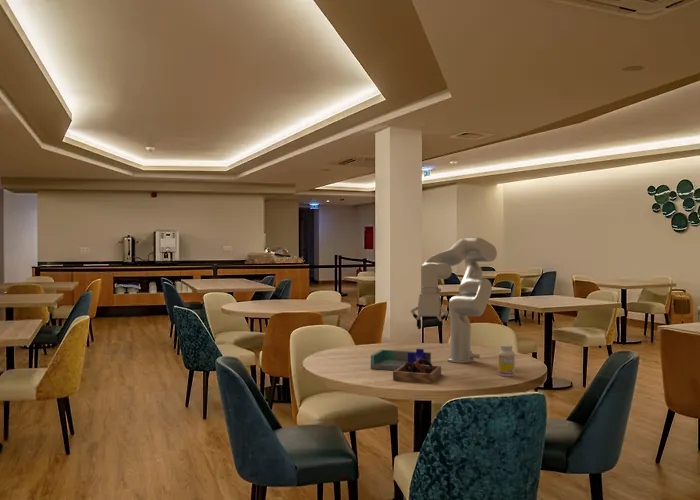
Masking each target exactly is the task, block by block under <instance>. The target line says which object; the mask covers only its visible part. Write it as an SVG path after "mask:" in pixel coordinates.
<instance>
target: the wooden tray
mask: <svg viewBox="0 0 700 500" xmlns="http://www.w3.org/2000/svg"><path fill="white" fill-rule="evenodd" d="M404 365H405V364H403V365H402V366H400V367H399V368H397V369H396V370H392V381H398V382H400V381H401V382H413V383H423V384H424V383H426V384H433V383H434V382H436V380H438V378H439V377H440V376H441V375H442V365H432V366H433V368H432V372H431V373H430V374H427V373H422V371H420V373H413V372H407V371H406V370H405V368H404ZM421 366H423V367H424V368H423V370H426V368H430V366H429V365H421ZM408 368H409V369H410V368H411V367H410V366H408Z"/></svg>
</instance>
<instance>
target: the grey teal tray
mask: <svg viewBox="0 0 700 500" xmlns="http://www.w3.org/2000/svg"><path fill="white" fill-rule="evenodd" d="M408 352H415V354H416V351H414V350H413V351H412V350H395V349H393V350H392V349H380V350H378V351H376V352H374V353H372V354H371V355H370V369H371V370H383V371H384V370H385V371H395V370H396V369H397V368H399V367H400V366H402V365H403V364H405V363H407V362H408ZM424 359H425V360H427V361H429V362H430V363H431V364H432V352H429V351H424ZM420 365H425V363H424V362H423V363H421V364H420Z"/></svg>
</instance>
